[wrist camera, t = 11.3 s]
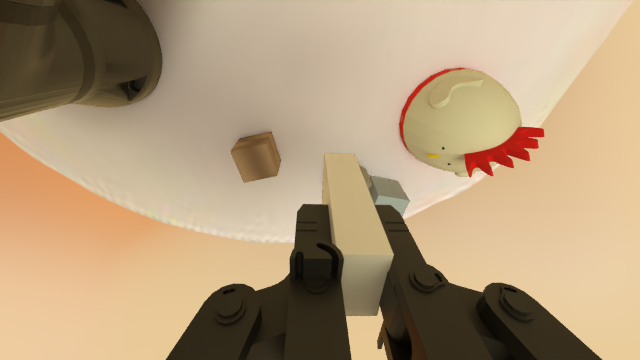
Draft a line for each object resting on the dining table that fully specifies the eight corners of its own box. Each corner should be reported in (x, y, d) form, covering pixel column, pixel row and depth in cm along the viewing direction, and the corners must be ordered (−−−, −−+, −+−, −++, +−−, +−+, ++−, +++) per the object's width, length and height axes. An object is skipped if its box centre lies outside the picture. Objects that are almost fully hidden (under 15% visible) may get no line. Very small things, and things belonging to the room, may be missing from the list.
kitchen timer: (385, 102, 35) (429, 138, 22) (481, 46, 32) (600, 49, 19) (417, 174, 41) (467, 235, 28) (501, 132, 38) (601, 180, 25)
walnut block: (251, 167, 39) (243, 182, 35) (240, 138, 37) (230, 151, 32) (280, 160, 39) (277, 175, 34) (271, 131, 36) (266, 143, 32)
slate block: (361, 199, 43) (368, 221, 38) (370, 175, 41) (378, 195, 35) (387, 204, 44) (397, 225, 39) (397, 180, 41) (409, 200, 36)
